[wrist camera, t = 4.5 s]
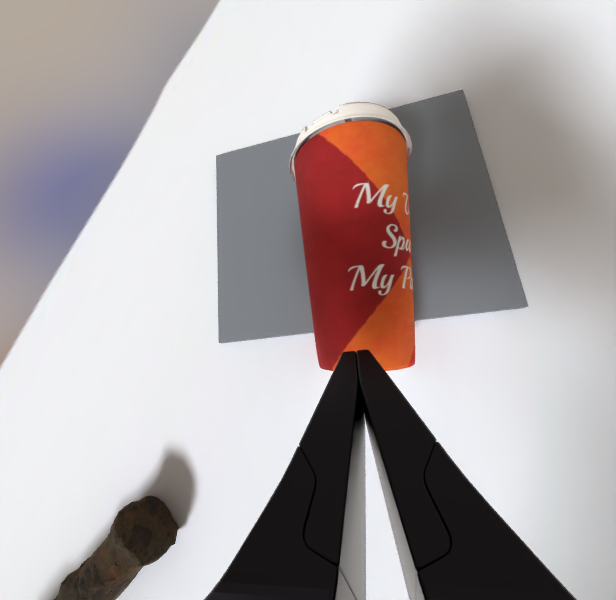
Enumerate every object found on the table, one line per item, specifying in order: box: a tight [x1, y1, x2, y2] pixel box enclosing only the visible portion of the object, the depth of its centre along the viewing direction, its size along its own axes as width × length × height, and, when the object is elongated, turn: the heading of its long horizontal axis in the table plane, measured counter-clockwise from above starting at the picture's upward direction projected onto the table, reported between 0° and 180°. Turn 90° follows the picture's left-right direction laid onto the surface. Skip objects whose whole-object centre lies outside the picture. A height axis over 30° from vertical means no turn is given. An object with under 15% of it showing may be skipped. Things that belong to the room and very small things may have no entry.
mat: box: [216, 90, 528, 343], centre depth 21 cm, size 18×22×1 cm
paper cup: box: [289, 102, 415, 371], centre depth 16 cm, size 8×8×14 cm
